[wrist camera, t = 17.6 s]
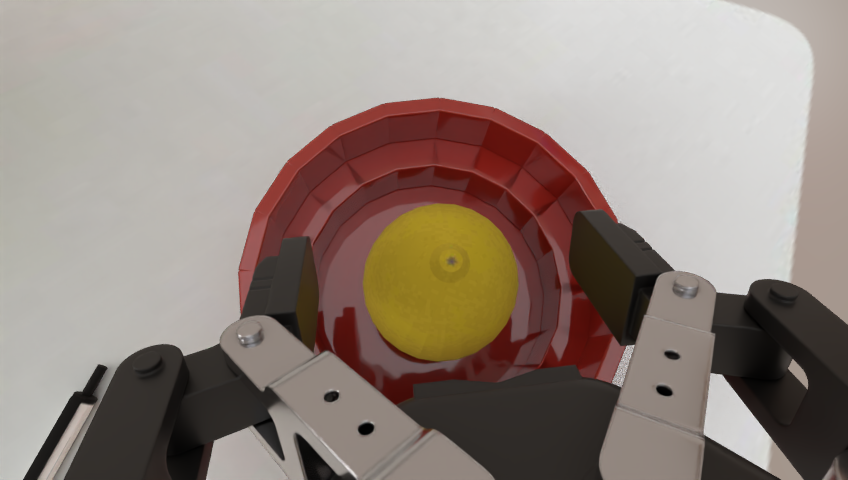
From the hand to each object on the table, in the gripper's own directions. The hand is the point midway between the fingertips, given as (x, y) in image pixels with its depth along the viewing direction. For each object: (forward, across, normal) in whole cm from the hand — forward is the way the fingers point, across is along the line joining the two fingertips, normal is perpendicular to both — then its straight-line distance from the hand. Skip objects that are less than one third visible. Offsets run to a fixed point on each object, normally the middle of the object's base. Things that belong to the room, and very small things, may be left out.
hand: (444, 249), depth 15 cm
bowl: (+6, 0, +6) cm, 8 cm away
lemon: (+5, 0, +6) cm, 8 cm away
